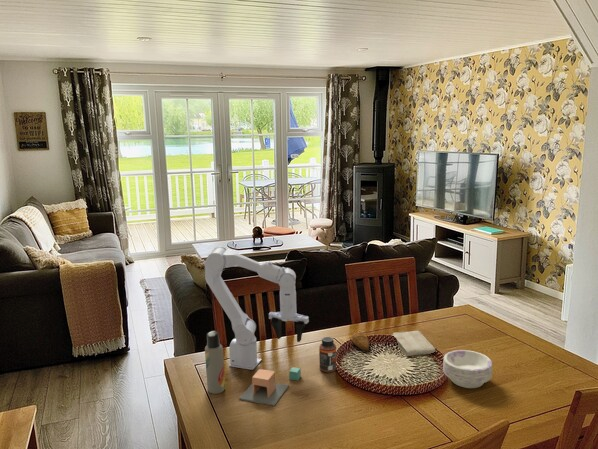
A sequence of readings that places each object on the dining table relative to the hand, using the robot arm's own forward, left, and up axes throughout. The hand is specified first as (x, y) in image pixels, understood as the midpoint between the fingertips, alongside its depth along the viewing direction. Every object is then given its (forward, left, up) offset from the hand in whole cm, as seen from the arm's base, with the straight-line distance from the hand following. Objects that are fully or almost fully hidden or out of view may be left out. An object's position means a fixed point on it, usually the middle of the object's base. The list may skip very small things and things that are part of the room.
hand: (289, 339), depth 174 cm
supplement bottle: (+14, 0, -10) cm, 17 cm away
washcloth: (+40, +28, -10) cm, 50 cm away
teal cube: (+5, -9, -10) cm, 14 cm away
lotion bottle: (-17, -24, -10) cm, 31 cm away
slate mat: (-1, -21, -9) cm, 23 cm away
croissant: (+21, +23, -10) cm, 32 cm away
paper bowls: (+60, +6, -10) cm, 61 cm away
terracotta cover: (-1, -21, -9) cm, 23 cm away
